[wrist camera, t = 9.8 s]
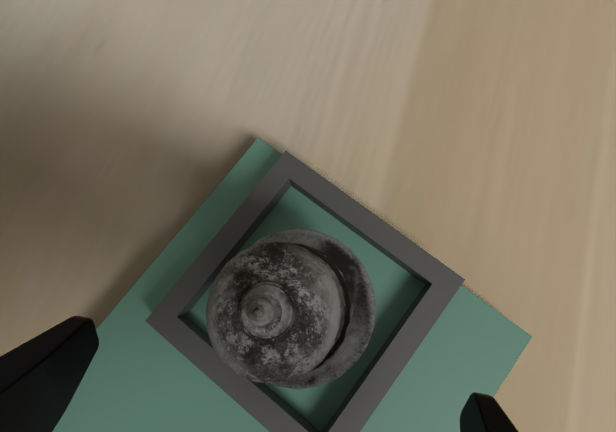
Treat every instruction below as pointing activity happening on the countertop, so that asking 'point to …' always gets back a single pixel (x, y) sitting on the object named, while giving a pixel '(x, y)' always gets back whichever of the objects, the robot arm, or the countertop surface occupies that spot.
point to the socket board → (266, 397)
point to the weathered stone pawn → (291, 310)
